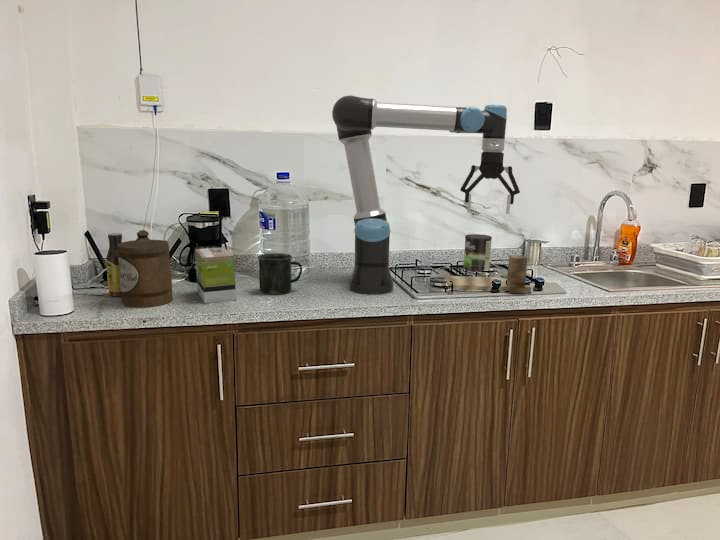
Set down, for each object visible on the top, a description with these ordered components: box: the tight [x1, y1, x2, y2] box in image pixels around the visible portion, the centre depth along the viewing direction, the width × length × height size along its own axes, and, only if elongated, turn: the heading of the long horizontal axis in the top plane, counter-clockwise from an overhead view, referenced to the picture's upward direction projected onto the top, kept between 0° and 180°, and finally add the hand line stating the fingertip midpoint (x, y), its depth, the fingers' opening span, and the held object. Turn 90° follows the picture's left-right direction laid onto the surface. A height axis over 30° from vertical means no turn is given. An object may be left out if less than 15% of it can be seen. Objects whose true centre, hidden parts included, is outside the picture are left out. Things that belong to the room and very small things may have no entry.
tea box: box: [194, 246, 237, 304], centre depth 179 cm, size 15×10×15 cm
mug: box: [257, 252, 303, 296], centre depth 187 cm, size 11×15×12 cm
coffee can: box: [463, 233, 493, 272], centre depth 222 cm, size 10×10×14 cm
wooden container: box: [117, 229, 174, 308], centre depth 172 cm, size 15×15×22 cm
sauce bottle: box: [105, 232, 123, 297], centre depth 179 cm, size 6×6×20 cm
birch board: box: [444, 275, 532, 294], centre depth 198 cm, size 28×14×2 cm, turn 86°
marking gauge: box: [507, 254, 528, 294], centre depth 194 cm, size 5×13×12 cm, turn 176°
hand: (488, 213), depth 199 cm, fingers open, 13 cm apart
